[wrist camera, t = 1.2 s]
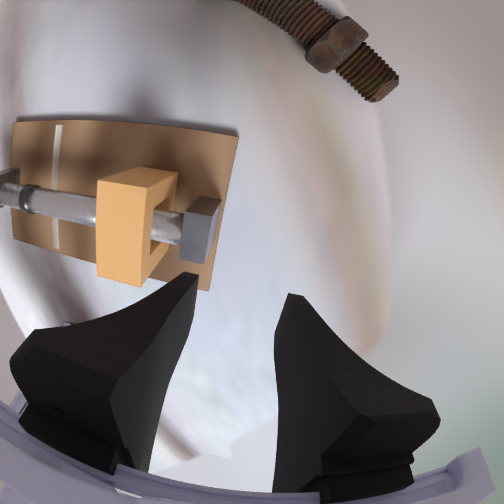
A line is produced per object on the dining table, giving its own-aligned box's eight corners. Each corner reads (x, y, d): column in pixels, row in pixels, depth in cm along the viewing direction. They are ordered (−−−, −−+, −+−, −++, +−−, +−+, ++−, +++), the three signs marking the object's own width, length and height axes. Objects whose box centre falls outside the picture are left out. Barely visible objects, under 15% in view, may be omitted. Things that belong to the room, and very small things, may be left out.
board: (239, 137, 18) (238, 137, 17) (209, 287, 23) (208, 292, 22) (17, 122, 16) (13, 122, 16) (17, 236, 21) (13, 238, 21)
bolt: (359, 102, 18) (212, -7, 14) (403, 66, 14) (247, -50, 10) (360, 125, 14) (171, -10, 10) (420, 78, 11) (213, -67, 7)
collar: (178, 172, 18) (147, 188, 13) (168, 249, 20) (140, 287, 15) (139, 166, 18) (97, 180, 13) (132, 241, 20) (97, 275, 15)
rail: (223, 198, 20) (212, 217, 15) (215, 236, 21) (203, 265, 16) (15, 166, 18) (-20, 177, 14) (15, 195, 19) (-18, 210, 15)
